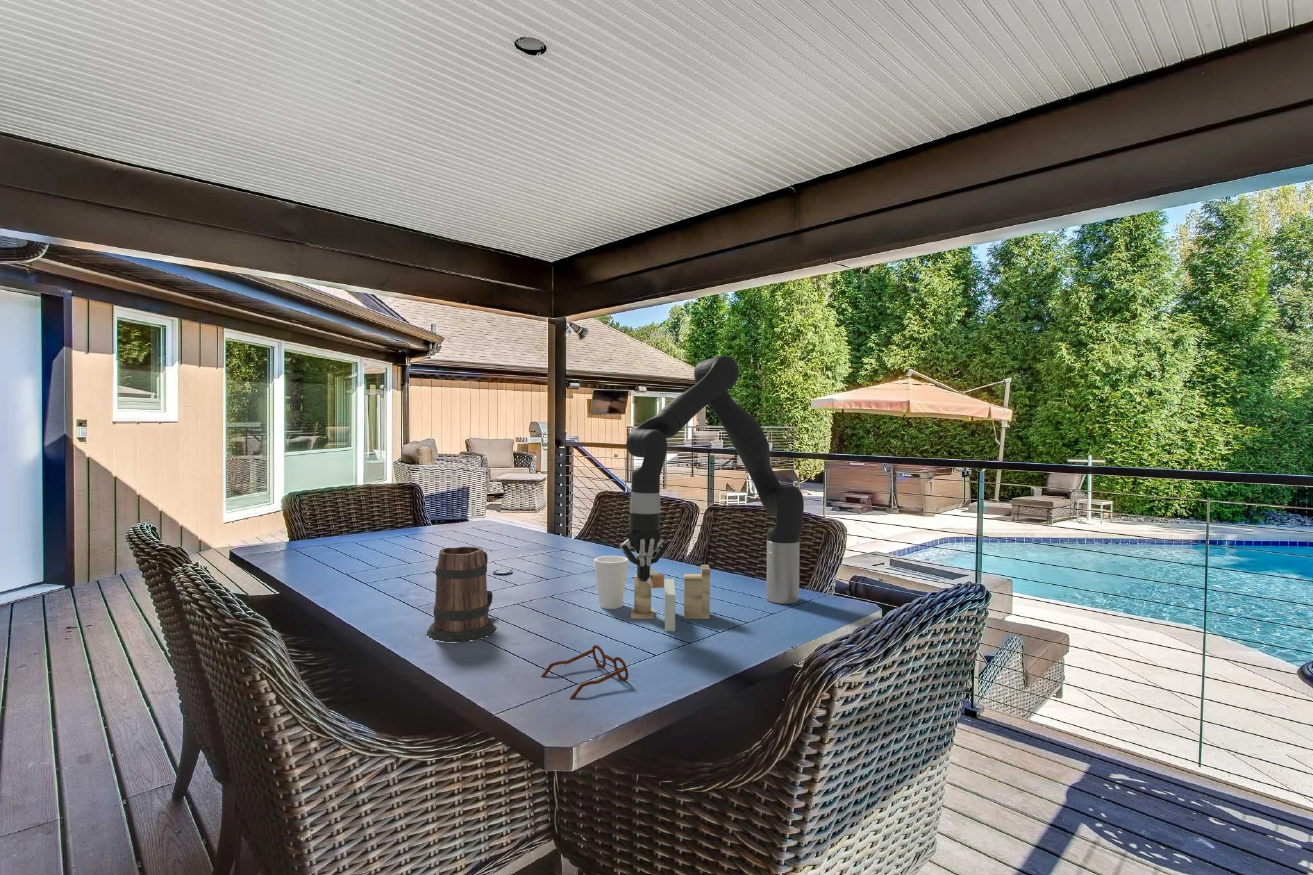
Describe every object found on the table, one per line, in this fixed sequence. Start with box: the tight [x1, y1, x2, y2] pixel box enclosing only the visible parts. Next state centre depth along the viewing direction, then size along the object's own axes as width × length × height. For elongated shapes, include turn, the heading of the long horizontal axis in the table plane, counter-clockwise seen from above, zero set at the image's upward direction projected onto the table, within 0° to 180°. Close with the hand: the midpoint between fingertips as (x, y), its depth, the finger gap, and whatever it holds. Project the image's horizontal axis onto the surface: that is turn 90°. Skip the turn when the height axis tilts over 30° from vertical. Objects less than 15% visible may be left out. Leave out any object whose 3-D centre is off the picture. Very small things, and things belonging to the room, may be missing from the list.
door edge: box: [663, 578, 676, 632], centre depth 167 cm, size 16×2×9 cm, turn 0°
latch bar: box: [647, 566, 665, 589], centre depth 166 cm, size 16×3×5 cm, turn 17°
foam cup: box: [593, 555, 629, 610], centre depth 181 cm, size 10×9×13 cm
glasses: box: [540, 644, 629, 700], centre depth 129 cm, size 13×13×5 cm
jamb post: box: [630, 574, 655, 620], centre depth 172 cm, size 6×6×10 cm
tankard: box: [426, 546, 498, 643], centre depth 161 cm, size 24×17×20 cm
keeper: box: [683, 564, 711, 620], centre depth 172 cm, size 5×6×13 cm
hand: (643, 580), depth 161 cm, fingers closed
